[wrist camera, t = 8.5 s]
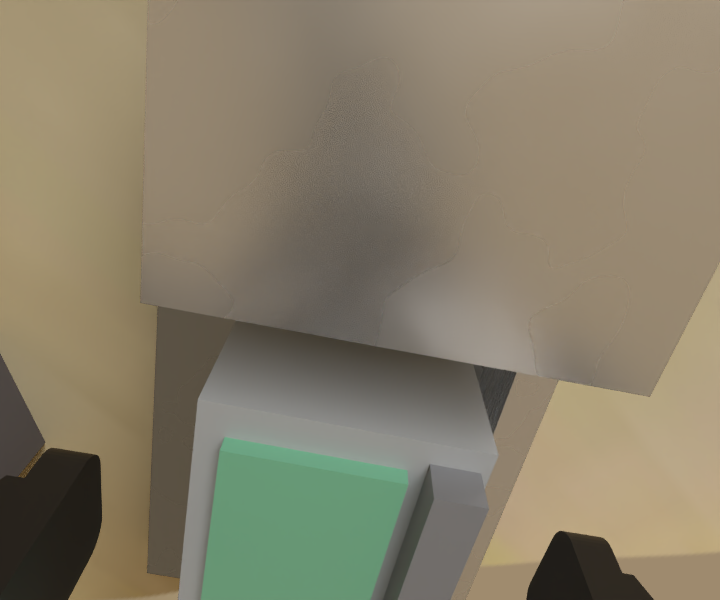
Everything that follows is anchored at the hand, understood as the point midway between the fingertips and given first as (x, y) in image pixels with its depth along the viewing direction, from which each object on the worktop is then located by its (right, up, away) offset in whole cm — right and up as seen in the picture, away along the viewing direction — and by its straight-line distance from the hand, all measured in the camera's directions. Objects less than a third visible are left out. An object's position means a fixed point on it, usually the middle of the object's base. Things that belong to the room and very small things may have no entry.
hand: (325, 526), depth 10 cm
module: (0, +3, +7) cm, 8 cm away
